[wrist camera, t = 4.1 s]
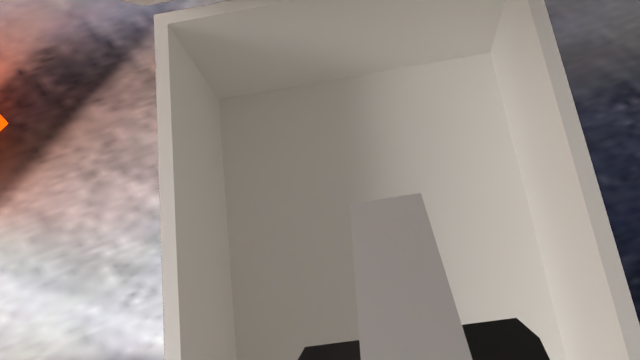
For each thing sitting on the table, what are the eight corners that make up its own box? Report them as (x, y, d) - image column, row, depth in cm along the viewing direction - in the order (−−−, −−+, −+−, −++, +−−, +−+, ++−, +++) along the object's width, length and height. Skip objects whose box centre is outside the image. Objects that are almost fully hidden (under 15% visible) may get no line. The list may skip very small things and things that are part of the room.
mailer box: (600, 450, 25) (686, 484, 17) (237, 490, 26) (170, 538, 19) (497, 46, 31) (527, -57, 24) (211, 96, 33) (153, 14, 25)
